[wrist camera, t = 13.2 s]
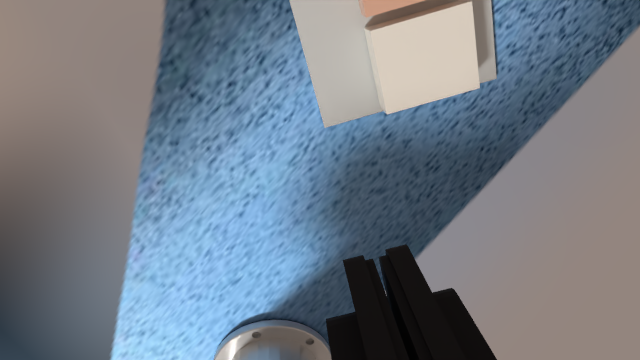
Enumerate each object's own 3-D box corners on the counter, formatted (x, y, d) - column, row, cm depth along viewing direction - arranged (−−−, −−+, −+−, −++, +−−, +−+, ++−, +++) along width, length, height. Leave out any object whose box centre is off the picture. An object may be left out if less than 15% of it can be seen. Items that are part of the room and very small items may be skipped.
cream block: (379, 105, 32) (466, 81, 32) (386, 114, 30) (479, 88, 30) (363, 27, 29) (457, -1, 29) (370, 31, 27) (472, 1, 27)
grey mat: (494, 77, 32) (496, 78, 32) (324, 126, 33) (324, 127, 32) (478, -135, 26) (481, -136, 26) (270, -71, 27) (269, -72, 26)
